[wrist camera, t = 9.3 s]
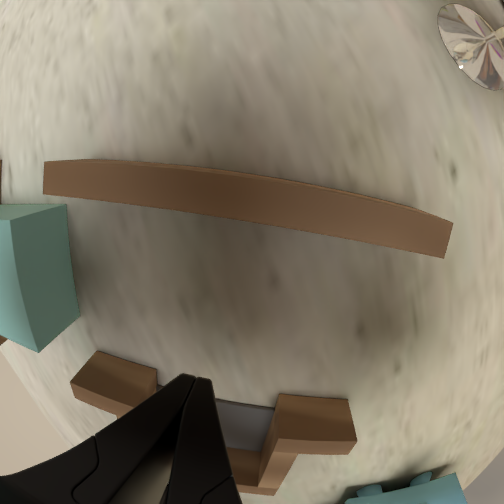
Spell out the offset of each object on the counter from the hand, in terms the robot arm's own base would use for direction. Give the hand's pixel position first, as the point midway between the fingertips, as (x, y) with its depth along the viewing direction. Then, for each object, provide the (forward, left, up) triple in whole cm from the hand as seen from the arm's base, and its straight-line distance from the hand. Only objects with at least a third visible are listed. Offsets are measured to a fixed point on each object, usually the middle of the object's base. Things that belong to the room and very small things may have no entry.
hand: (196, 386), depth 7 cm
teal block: (0, +11, -5) cm, 12 cm away
